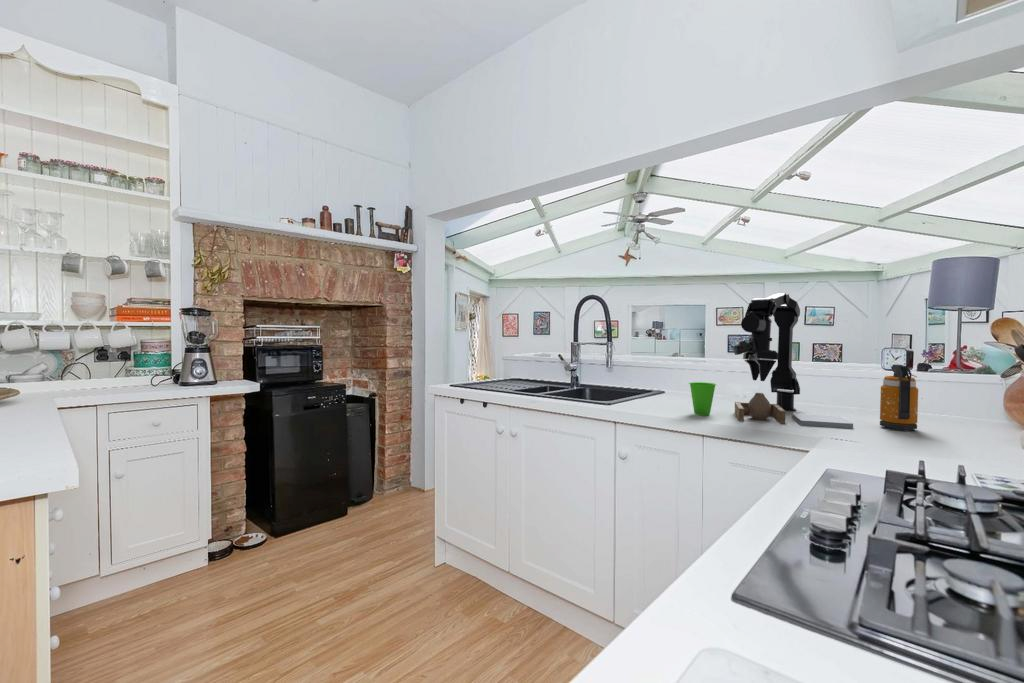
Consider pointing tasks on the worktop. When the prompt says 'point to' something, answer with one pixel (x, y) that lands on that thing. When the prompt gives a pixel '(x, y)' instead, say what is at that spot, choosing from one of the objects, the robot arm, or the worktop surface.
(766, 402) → the vase
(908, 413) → the canister
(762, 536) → the worktop surface
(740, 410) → the holder
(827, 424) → the board
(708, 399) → the cup
